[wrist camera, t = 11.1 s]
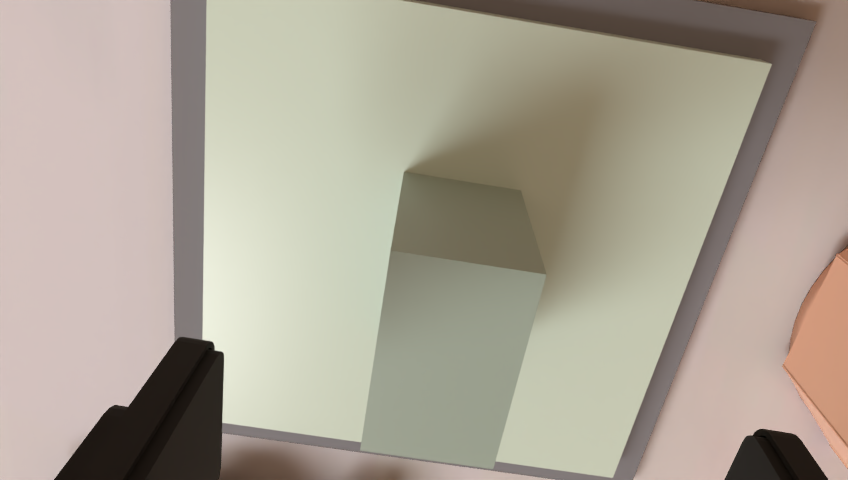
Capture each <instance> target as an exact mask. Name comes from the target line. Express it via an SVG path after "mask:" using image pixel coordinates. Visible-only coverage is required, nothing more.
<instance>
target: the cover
mask: <svg viewBox="0 0 848 480" xmlns="http://www.w3.org/2000/svg"><path fill="white" fill-rule="evenodd" d="M771 65H772V64H771V63H768V62H766V61H763V60H760V59H755V58H749V57H743V56H737V55H731V54H725V53H720V52H714V51H708V50H702V49H696V48H690V47H685V46H679V45H673V44H667V43H661V42H655V41H650V40H644V39H638V38H632V37H626V36H621V35H615V34H609V33H603V32H597V31H591V30H586V29H580V28H574V27H568V26H562V25H556V24H551V23H545V22H539V21H533V20H527V19H521V18H516V17H510V16H504V15H498V14H492V13H486V12H481V11H475V10H469V9H463V8H457V7H452V6H446V5H440V4H434V3H428V2H422V1H417V0H207V6H206V88H205V171H204V253H203V335H202V340H206V341H212V342H213V343H214V346H215V350H216V351H222V352H223V353H224V381H223V414H222V423H228V424H235V425H242V426H249V427H256V428H263V429H270V430H277V431H285V432H292V433H299V434H306V435H313V436H320V437H327V438H334V439H341V440H348V441H355V442H361V447H360V450H361V451H368V452H375V453H382V454H389V455H396V456H403V457H410V458H417V459H425V460H432V461H439V462H446V463H453V464H460V465H467V466H474V467H481V468H488V469H493V468H494V465H495V461H496V462H503V463H510V464H518V465H525V466H532V467H539V468H546V469H553V470H560V471H567V472H574V473H581V474H588V475H595V476H602V477H609V478H613V476H614V474H615V471H616V468H617V466H618V463H619V461H620V458H621V455H622V453H623V450H624V448H625V445H626V442H627V440H628V437H629V435H630V432H631V429H632V427H633V424H634V422H635V419H636V416H637V414H638V411H639V409H640V406H641V403H642V401H643V398H644V396H645V393H646V390H647V388H648V385H649V383H650V380H651V377H652V375H653V372H654V370H655V367H656V364H657V362H658V359H659V357H660V354H661V351H662V349H663V346H664V344H665V341H666V338H667V336H668V333H669V331H670V328H671V325H672V323H673V320H674V318H675V315H676V312H677V310H678V307H679V305H680V302H681V299H682V297H683V294H684V292H685V289H686V286H687V284H688V281H689V279H690V276H691V273H692V271H693V268H694V266H695V263H696V260H697V258H698V255H699V253H700V250H701V247H702V245H703V242H704V240H705V237H706V234H707V232H708V229H709V227H710V224H711V221H712V219H713V216H714V214H715V211H716V208H717V206H718V203H719V201H720V198H721V195H722V193H723V190H724V188H725V185H726V182H727V180H728V177H729V175H730V172H731V169H732V167H733V164H734V162H735V159H736V156H737V154H738V151H739V149H740V146H741V143H742V141H743V138H744V136H745V133H746V130H747V128H748V125H749V123H750V120H751V117H752V115H753V112H754V110H755V107H756V104H757V102H758V99H759V97H760V94H761V91H762V89H763V86H764V84H765V81H766V78H767V76H768V73H769V71H770V68H771Z"/></svg>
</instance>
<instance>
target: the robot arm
mask: <svg viewBox="0 0 848 480" xmlns="http://www.w3.org/2000/svg"><path fill="white" fill-rule="evenodd" d="M223 381H224V353H223V352H222V351H216V350H215V346H214V343H213V342H212V341H206V340H200V339H194V338H187V337H179V338H178V339H177V340H176V341H175V342H174V344H173V345H172V347H171V348H170V349H169V351H168V352H167V354H166V355H165V356H164V358H163V359H162V361H161V362H160V363H159V365H158V366H157V368H156V369H155V370H154V372H153V373H152V375H151V376H150V377H149V379H148V380H147V382H146V383H145V384H144V386H143V387H142V389H141V390H140V391H139V393H138V394H137V396H136V397H135V398H134V400H133V401H132V403H131V404H130V405H129V407H125V406H118V405H114V406H112V407H110V408H109V409H108V410H107V411H106V412H105V413H104V414H103V416H102V417H101V418H100V420H99V421H98V422H97V424H96V425H95V426H94V428H93V429H92V430H91V432H90V433H89V434H88V436H87V437H86V438H85V439H84V441H83V442H82V443H81V445H80V446H79V447H78V449H77V450H76V451H75V453H74V454H73V455H72V457H71V458H70V459H69V461H68V462H67V463H66V465H65V466H64V467H63V469H62V470H61V471H60V473H59V474H58V475H57V476H56V478H55V479H54V480H218V479H219V475H220V469H221V447H222V414H223ZM725 480H828V478H827V477H826V476H825V474H824V473H823V471H822V470H821V468H820V467H819V466H818V464H817V463H816V461H815V460H814V458H813V457H812V455H811V454H810V453H809V451H808V450H807V448H806V447H805V445H804V444H803V442H802V441H801V440H800V439H799V438H798V436H796V435H794V434H791V433H785V432H779V431H773V430H766V429H759V430H757V431H756V432H755V433H754V434H753V436H747V437H746V438H745V439H744V440H743V442H742V444H741V446H740V448H739V450H738V453H737V455H736V457H735V459H734V461H733V463H732V465H731V467H730V469H729V471H728V474H727V476H726V478H725Z"/></svg>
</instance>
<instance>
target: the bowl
mask: <svg viewBox="0 0 848 480" xmlns="http://www.w3.org/2000/svg"><path fill="white" fill-rule="evenodd" d="M835 256H836V257H835V259H834V260H833V261H832V262H831V263H830V264H829V265H828V267H827V268H826V269H825V270H824V271H823V272H822V274H821V275H820V276H819V278H818V279H817V281H816V282H815V283H814V285H813V286H812V287H811V289H810V291H809V293H808V294H807V296H806V298H805V300H804V302H803V303H802V305H801V308H800V310H799V313H798V315H797V318H796V320H795V323H794V327H793V331H792V335H791V339H790V352H789V354H788V356H787V358H786V360H785V362H784V364H783V366H782V367H783V368H784V369H785V371H786V372H787V374H788V375H789V377H790V379H791V380H792V382H793V384H794V385H795V387H796V389H797V391H798V393H799V396H800V398H801V399H802V401H803V402H804V403H805V405H806V406H807V407H808V409H809V410H810V412H811V414H812V415H813V417H814V419H815V420H816V422H817V424H818V425H819V427H820V429H821V430H822V432H823V434H824V435H825V437H826V439H827V440H828V442H829V444H830V446H831V448H832V449H833V450H834V452H835V453H836V454H837V456H838V457H839V458H840V460H841V461H842V462H843V464H844V465H845V466H846V467H847V469H848V246H847V247H846V248H845V249H844V250H843V251H842V252H841V253H839V254H837V255H835Z"/></svg>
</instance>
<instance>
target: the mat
mask: <svg viewBox="0 0 848 480" xmlns="http://www.w3.org/2000/svg"><path fill="white" fill-rule="evenodd" d="M417 1H422V2H428V3H434V4H440V5H446V6H452V7H457V8H463V9H469V10H475V11H481V12H486V13H492V14H498V15H504V16H510V17H516V18H521V19H527V20H533V21H539V22H545V23H551V24H556V25H562V26H568V27H574V28H580V29H586V30H591V31H597V32H603V33H609V34H615V35H621V36H626V37H632V38H638V39H644V40H650V41H655V42H661V43H667V44H673V45H679V46H685V47H690V48H696V49H702V50H708V51H714V52H720V53H725V54H731V55H737V56H743V57H749V58H755V59H760V60H763V61H766V62H768V63H771V64H772V65H771V68H770V71H769V73H768V76H767V78H766V81H765V84H764V86H763V89H762V91H761V94H760V97H759V99H758V102H757V104H756V107H755V110H754V112H753V115H752V117H751V120H750V123H749V125H748V128H747V130H746V133H745V136H744V138H743V141H742V143H741V146H740V149H739V151H738V154H737V156H736V159H735V162H734V164H733V167H732V169H731V172H730V175H729V177H728V180H727V182H726V185H725V188H724V190H723V193H722V195H721V198H720V201H719V203H718V206H717V208H716V211H715V214H714V216H713V219H712V221H711V224H710V227H709V229H708V232H707V234H706V237H705V240H704V242H703V245H702V247H701V250H700V253H699V255H698V258H697V260H696V263H695V266H694V268H693V271H692V273H691V276H690V279H689V281H688V284H687V286H686V289H685V292H684V294H683V297H682V299H681V302H680V305H679V307H678V310H677V312H676V315H675V318H674V320H673V323H672V325H671V328H670V331H669V333H668V336H667V338H666V341H665V344H664V346H663V349H662V351H661V354H660V357H659V359H658V362H657V364H656V367H655V370H654V372H653V375H652V377H651V380H650V383H649V385H648V388H647V390H646V393H645V396H644V398H643V401H642V403H641V406H640V409H639V411H638V414H637V416H636V419H635V422H634V424H633V427H632V429H631V432H630V435H629V437H628V440H627V442H626V445H625V448H624V450H623V453H622V455H621V458H620V461H619V463H618V466H617V468H616V471H615V474H614V476H613V478H609V477H602V476H595V475H588V474H581V473H574V472H567V471H560V470H553V469H546V468H539V467H532V466H525V465H518V464H510V463H503V462H496V461H495V465H494V468H493V469H488V468H481V467H474V466H467V465H460V464H453V463H446V462H439V461H432V460H425V459H417V458H410V457H403V456H396V455H389V454H382V453H375V452H368V451H361V450H360V447H361V442H355V441H348V440H341V439H334V438H327V437H320V436H313V435H306V434H299V433H292V432H285V431H277V430H270V429H263V428H256V427H249V426H242V425H235V424H228V423H222V433H226V434H233V435H240V436H247V437H254V438H262V439H269V440H276V441H283V442H290V443H297V444H305V445H312V446H319V447H326V448H333V449H340V450H348V451H355V452H362V453H369V454H376V455H383V456H391V457H398V458H405V459H412V460H419V461H426V462H434V463H441V464H448V465H455V466H462V467H469V468H477V469H484V470H491V471H498V472H505V473H512V474H520V475H527V476H534V477H541V478H548V479H555V480H633V478H634V476H635V473H636V471H637V468H638V466H639V463H640V461H641V458H642V456H643V453H644V451H645V448H646V446H647V444H648V441H649V439H650V436H651V434H652V431H653V429H654V426H655V424H656V421H657V419H658V416H659V414H660V411H661V409H662V406H663V404H664V401H665V399H666V396H667V394H668V391H669V389H670V386H671V384H672V381H673V379H674V376H675V374H676V371H677V369H678V366H679V364H680V361H681V359H682V356H683V354H684V351H685V349H686V346H687V344H688V341H689V339H690V336H691V334H692V331H693V329H694V326H695V324H696V321H697V319H698V316H699V314H700V311H701V309H702V306H703V304H704V301H705V299H706V296H707V294H708V291H709V289H710V286H711V284H712V281H713V279H714V276H715V274H716V271H717V269H718V266H719V264H720V261H721V259H722V256H723V254H724V251H725V249H726V246H727V244H728V241H729V239H730V236H731V234H732V232H733V229H734V227H735V224H736V222H737V219H738V217H739V214H740V212H741V209H742V207H743V204H744V202H745V199H746V197H747V194H748V192H749V189H750V187H751V184H752V182H753V179H754V177H755V174H756V172H757V169H758V167H759V164H760V162H761V159H762V157H763V154H764V152H765V149H766V147H767V144H768V142H769V139H770V137H771V134H772V132H773V129H774V127H775V124H776V122H777V119H778V117H779V114H780V112H781V109H782V107H783V104H784V102H785V99H786V97H787V94H788V92H789V89H790V87H791V84H792V82H793V79H794V77H795V74H796V72H797V69H798V67H799V64H800V62H801V59H802V57H803V54H804V52H805V49H806V47H807V44H808V42H809V39H810V37H811V34H812V32H813V29H814V27H815V24H816V21H812V20H807V19H801V18H795V17H790V16H784V15H778V14H772V13H767V12H761V11H755V10H749V9H743V8H738V7H732V6H726V5H720V4H714V3H709V2H703V1H697V0H417ZM206 6H207V0H171V78H172V159H173V241H174V322H175V341H176V340H177V339H178V338H179V337H187V338H194V339H200V340H202V335H203V253H204V171H205V88H206Z"/></svg>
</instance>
